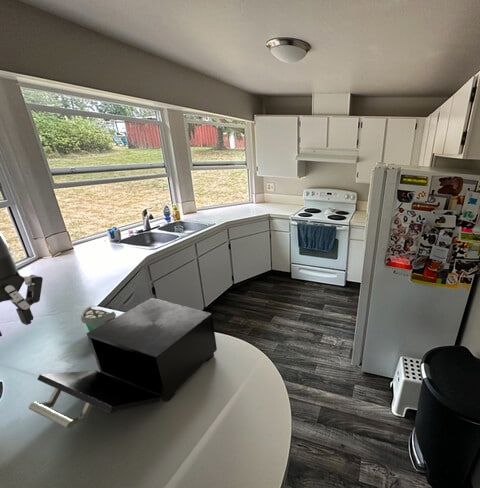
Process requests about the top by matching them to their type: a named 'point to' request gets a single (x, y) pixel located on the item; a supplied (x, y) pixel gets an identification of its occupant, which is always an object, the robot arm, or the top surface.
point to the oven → (154, 345)
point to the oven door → (90, 395)
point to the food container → (95, 318)
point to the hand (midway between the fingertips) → (12, 329)
